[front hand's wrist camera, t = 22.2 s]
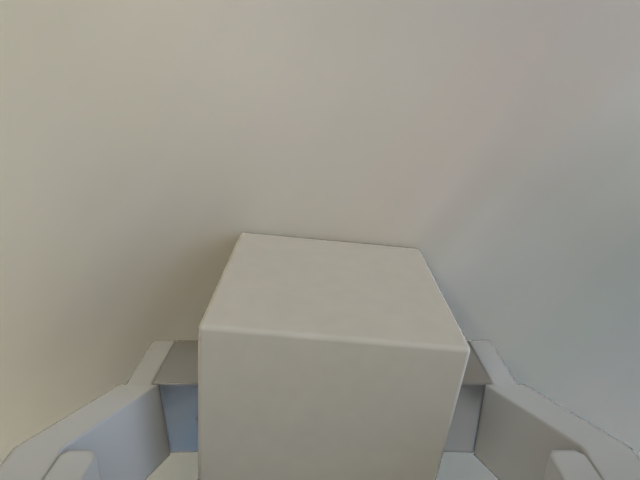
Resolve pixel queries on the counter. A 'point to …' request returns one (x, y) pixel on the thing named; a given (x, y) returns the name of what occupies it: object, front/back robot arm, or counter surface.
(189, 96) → the counter surface
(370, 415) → the brick
